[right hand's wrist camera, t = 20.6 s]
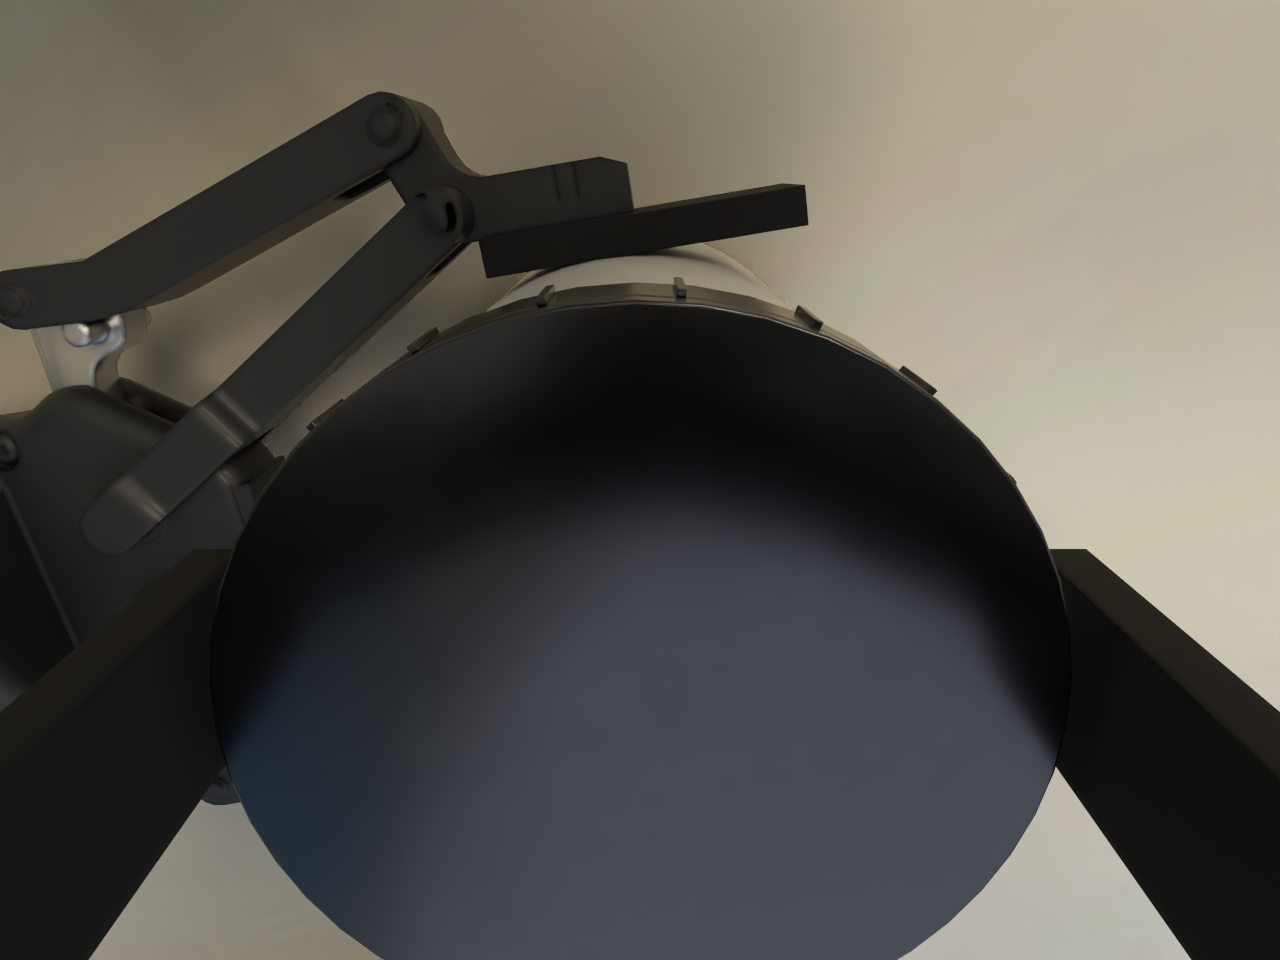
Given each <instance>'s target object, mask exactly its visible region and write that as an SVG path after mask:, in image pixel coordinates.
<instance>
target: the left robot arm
mask: <svg viewBox="0 0 1280 960" xmlns="http://www.w3.org/2000/svg"><path fill="white" fill-rule="evenodd" d="M389 181H391V182H392V183H393V185H394V186H395V188H396V190H397V191H398V193H399V195H400V196H401V198H402V199H403V201H404V203H405V204H406V205H405V206H404V207H403V208H402V209H401V210H400V211H399V212H398V213H397V214H396V215H395V216H394V217H393V218H392V219H391V220H390V221H389V222H388V223H387V224H386V225H385V226H384V227H383V228H382V229H381V230H380V231H378V232H377V233H376V234H375V235H374V236H373V237H372V238H371V239H370V240H369V241H368V242H367V243H366V244H365V245H364V246H363V247H362V248H361V249H360V250H359V251H358V252H357V253H356V254H355V255H354V256H353V257H352V258H351V259H350V260H349V261H348V262H347V263H346V264H345V265H344V266H343V267H342V268H341V269H339V270H338V271H337V272H336V273H335V274H334V275H333V276H332V277H331V278H330V279H329V280H328V281H327V282H326V283H325V284H324V285H323V286H322V287H321V288H320V289H319V290H318V291H317V292H316V293H315V294H314V295H313V296H312V297H311V298H310V299H309V300H308V301H307V302H306V303H305V304H304V305H303V306H302V307H300V308H299V309H298V310H297V311H296V312H295V313H294V314H293V315H292V316H291V317H290V318H289V319H288V320H287V321H286V322H285V323H284V324H283V325H282V326H281V327H280V328H279V329H278V330H277V331H276V332H275V333H274V334H273V335H272V336H271V337H270V338H269V339H268V340H267V341H266V342H265V343H264V344H263V345H261V346H260V347H259V348H258V349H257V350H256V351H255V352H254V353H253V354H252V355H251V356H250V357H249V358H248V359H247V360H246V361H245V362H244V363H243V364H242V365H241V366H240V367H239V368H238V369H237V370H236V371H235V372H234V373H233V374H232V375H231V376H230V377H229V378H228V379H227V380H226V381H225V382H224V383H223V384H221V385H220V386H219V387H218V388H217V389H216V390H215V391H213V392H212V393H211V394H209V395H208V396H207V397H205V398H204V399H203V400H201V401H200V402H199V403H198V404H196V405H195V406H194V407H193V408H192V407H190V406H188V405H185V404H183V403H181V402H179V401H176V400H174V399H172V398H170V397H167V396H165V395H163V394H161V393H158V392H156V391H154V390H152V389H149V388H147V387H145V386H143V385H141V384H138V383H136V382H134V381H131V380H129V379H126V378H122V377H119V375H118V370H117V364H118V359H119V357H120V355H121V354H122V353H123V352H124V351H125V350H126V349H127V348H130V347H132V346H134V345H136V344H139V343H140V342H141V341H142V340H143V339H144V338H145V335H146V333H147V328H148V325H149V324H150V322H151V314H150V312H149V310H148V309H147V308H146V307H148V306H152V305H156V304H159V303H163V302H166V301H169V300H172V299H176V298H179V297H181V296H184V295H186V294H188V293H190V292H192V291H194V290H196V289H198V288H200V287H202V286H204V285H205V284H207V283H209V282H211V281H212V280H214V279H216V278H218V277H220V276H221V275H223V274H225V273H227V272H229V271H230V270H232V269H234V268H236V267H237V266H239V265H241V264H243V263H245V262H246V261H248V260H250V259H252V258H254V257H255V256H257V255H259V254H261V253H262V252H264V251H266V250H268V249H270V248H271V247H273V246H275V245H277V244H278V243H280V242H282V241H284V240H286V239H287V238H289V237H291V236H293V235H295V234H296V233H298V232H300V231H302V230H303V229H305V228H307V227H309V226H311V225H312V224H314V223H316V222H318V221H319V220H321V219H323V218H325V217H327V216H328V215H330V214H332V213H334V212H336V211H337V210H339V209H341V208H343V207H344V206H346V205H348V204H350V203H352V202H353V201H355V200H357V199H359V198H360V197H362V196H364V195H366V194H368V193H369V192H371V191H373V190H375V189H377V188H378V187H380V186H382V185H384V184H385V183H387V182H389ZM805 225H808V215H807V203H806V192H805V185H796V184H777V185H771V186H765V187H759V188H753V189H747V190H742V191H736V192H730V193H724V194H718V195H712V196H706V197H700V198H694V199H688V200H683V201H677V202H671V203H665V204H659V205H653V206H647V207H641V208H635V209H634V204H633V198H632V191H631V185H630V179H629V172H628V166H627V163H624V162H620V161H615V160H611V159H607V158H603V157H596V158H590V159H584V160H578V161H573V162H567V163H561V164H555V165H550V166H544V167H538V168H532V169H526V170H521V171H515V172H509V173H503V174H498V175H492V176H484V175H480V174H478V173H476V172H474V171H472V170H470V169H469V168H468V167H467V166H466V165H464V164H463V162H462V161H461V160H460V158H459V157H458V155H457V154H456V152H455V150H454V149H453V147H452V145H451V143H450V142H449V140H448V138H447V137H446V135H445V133H444V129H443V126H442V123H441V120H440V118H439V116H438V115H437V114H436V112H435V111H434V110H433V109H432V108H430V107H429V106H427V105H425V104H423V103H421V102H418V101H415V100H412V99H408V98H405V97H402V96H399V95H396V94H393V93H387V92H380V91H379V92H376V93H373V94H369V95H367V96H365V97H364V98H362V99H360V100H358V101H357V102H355V103H353V104H352V105H350V106H348V107H346V108H345V109H343V110H341V111H340V112H338V113H336V114H334V115H333V116H331V117H329V118H328V119H326V120H324V121H322V122H321V123H319V124H317V125H315V126H314V127H312V128H310V129H309V130H307V131H305V132H303V133H302V134H300V135H298V136H297V137H295V138H293V139H291V140H290V141H288V142H286V143H285V144H283V145H281V146H279V147H278V148H276V149H274V150H273V151H271V152H269V153H267V154H266V155H264V156H262V157H261V158H259V159H257V160H255V161H254V162H252V163H250V164H249V165H247V166H245V167H243V168H242V169H240V170H238V171H237V172H235V173H233V174H231V175H230V176H228V177H226V178H225V179H223V180H221V181H219V182H218V183H216V184H214V185H213V186H211V187H209V188H207V189H206V190H204V191H202V192H201V193H199V194H197V195H195V196H194V197H192V198H190V199H189V200H187V201H185V202H183V203H182V204H180V205H178V206H177V207H175V208H173V209H171V210H170V211H168V212H166V213H164V214H163V215H161V216H159V217H158V218H156V219H154V220H152V221H151V222H149V223H147V224H146V225H144V226H142V227H140V228H139V229H137V230H135V231H134V232H132V233H130V234H128V235H127V236H125V237H123V238H122V239H120V240H118V241H116V242H115V243H113V244H111V245H110V246H108V247H106V248H104V249H103V250H101V251H99V252H98V253H96V254H94V255H92V256H91V257H89V258H87V259H79V260H72V261H65V262H59V263H52V264H46V265H39V266H33V267H26V268H20V269H13V270H7V271H2V272H0V322H1V323H2V324H4V325H6V326H8V327H10V328H13V329H21V330H27V329H30V331H31V333H32V336H33V339H34V341H35V344H36V347H37V350H38V352H39V355H40V358H41V360H42V363H43V366H44V368H45V371H46V374H47V377H48V379H49V382H50V385H51V387H52V390H53V393H51V394H49V395H48V396H46V397H45V398H44V399H43V400H42V401H41V402H40V403H39V404H38V405H37V406H36V407H35V408H34V409H33V410H29V411H23V412H17V413H11V414H4V415H0V712H1V711H2V710H3V709H4V708H6V707H7V706H8V705H9V704H10V703H12V702H13V701H14V700H15V699H16V698H18V697H19V696H20V695H21V694H22V693H24V692H25V691H26V690H27V689H28V688H29V687H31V686H32V685H33V684H34V683H35V682H37V681H38V680H39V679H40V678H41V677H43V676H44V675H45V674H46V673H47V672H48V671H50V670H51V669H52V668H53V667H54V666H56V665H57V664H58V663H59V662H60V661H62V660H63V659H64V658H65V657H66V656H67V655H69V654H70V653H71V652H72V651H73V650H75V649H76V648H77V647H78V646H79V645H81V644H82V643H83V642H84V641H85V640H86V639H88V638H89V637H90V636H91V635H92V634H94V633H95V632H96V631H97V630H98V629H100V628H101V627H102V626H103V625H104V624H105V623H107V622H108V621H109V620H110V619H111V618H113V617H114V616H115V615H116V614H117V613H119V612H120V611H121V610H122V609H123V608H125V607H126V606H127V605H128V604H129V603H130V602H132V601H133V600H134V599H135V598H136V597H138V596H139V595H140V594H141V593H142V592H144V591H145V590H146V589H147V588H148V587H149V586H151V585H152V584H153V583H154V582H155V581H157V580H158V579H159V578H160V577H161V576H163V575H164V574H165V573H166V572H167V571H168V570H170V569H171V568H172V567H173V566H174V565H176V564H177V563H178V562H179V561H180V560H182V559H183V558H184V557H185V556H186V555H187V554H189V553H190V552H191V551H192V550H193V549H233V546H234V543H235V540H236V538H237V536H238V534H239V532H240V530H241V528H242V527H243V525H244V523H245V521H246V519H247V517H248V515H249V513H250V511H251V509H252V508H253V506H254V504H255V502H256V500H257V498H258V496H259V494H260V492H261V491H262V490H263V488H264V487H265V486H266V484H267V483H268V482H269V480H270V479H271V478H272V476H273V475H274V474H275V472H276V471H277V470H278V468H279V467H280V466H281V464H282V463H283V462H284V460H285V457H284V456H278V457H274V456H273V454H272V453H271V452H270V451H269V449H268V448H267V447H266V446H265V445H264V444H263V443H262V441H263V440H264V439H265V438H266V437H267V436H268V435H269V434H270V433H271V432H272V431H274V430H275V429H276V428H277V427H278V426H279V425H280V424H281V423H282V422H283V421H284V420H285V419H286V418H287V417H289V416H290V415H291V414H292V413H293V412H294V411H295V410H296V409H297V408H298V407H299V406H300V405H301V403H302V402H303V401H304V400H305V399H306V398H307V397H308V396H309V395H310V394H311V393H312V392H313V391H314V390H315V389H316V388H317V387H318V386H320V385H321V384H322V383H323V382H324V381H325V380H326V379H327V378H328V377H329V376H330V375H331V374H332V373H333V372H334V371H336V370H337V369H338V368H339V367H340V366H341V365H342V364H343V363H344V362H345V361H346V360H347V359H348V358H349V357H350V356H352V355H353V354H354V353H355V352H356V351H357V350H358V349H359V348H360V347H361V346H362V345H363V344H364V343H365V342H367V341H368V340H369V339H370V338H371V337H372V336H373V335H374V334H375V333H376V332H377V331H378V330H379V329H380V328H381V327H383V326H384V325H385V324H386V323H387V322H388V321H389V320H390V319H391V318H392V317H393V316H394V315H395V314H396V313H398V312H399V311H400V310H401V309H402V308H403V307H404V306H405V305H406V304H407V303H408V302H409V301H410V300H411V299H412V298H414V297H415V296H416V295H417V294H418V293H419V292H420V291H421V290H422V289H423V288H424V287H425V286H426V285H427V284H428V283H430V282H431V281H432V280H433V279H434V278H435V277H436V276H437V275H438V274H439V273H440V272H441V271H442V270H443V269H445V268H446V267H447V266H448V265H449V264H450V263H451V262H452V261H453V260H454V259H455V258H456V257H457V256H458V255H459V254H461V253H462V252H463V251H464V250H465V249H466V248H467V247H468V246H469V245H470V244H471V243H472V242H476V241H479V245H480V250H481V254H482V259H483V263H484V268H485V272H486V277H487V278H492V277H498V276H504V275H510V274H516V273H522V272H528V271H534V270H541V269H547V268H553V267H559V266H565V265H571V264H577V263H583V262H589V261H594V260H600V259H607V258H613V257H619V256H625V255H631V254H637V253H643V252H649V251H655V250H661V249H667V248H673V247H679V246H685V245H691V244H697V243H703V242H709V241H715V240H721V239H727V238H733V237H739V236H745V235H751V234H757V233H763V232H769V231H775V230H781V229H787V228H793V227H799V226H805ZM202 800H203V801H205V802H207V803H210V804H213V805H227V804H232V803H238V802H241V801H240V799H239V797H238V795H237V793H236V790H235V788H234V786H233V784H232V782H231V779H230V776H229V773H228V770H227V766H226V764H225V766H224V767H223V769H222V770H221V772H220V773H219V774H218V776H217V777H216V779H215V780H214V781H213V783H212V784H211V786H210V787H209V789H208V790H207V791H206V793H205V794H204V796H203V797H202Z"/></svg>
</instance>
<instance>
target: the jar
mask: <svg viewBox="0 0 1280 960" xmlns="http://www.w3.org/2000/svg"><path fill="white" fill-rule="evenodd" d="M674 277H682V278H683V281H684V283H685V285H694V286H699V287H704V288H710V289H715V290H720V291H725V292H731V293H736V294H741V295H746V296H751V297H754V298H757V299H760V300H763V301H766V302H769V303H772V304H775V305H778V306H781V307H784V308H787V309H790V310H793V311H795V310H794V309H792V308H791V307H790V306H789V305H788V304H787V303H786V302H785V301H783V300H782V299H781V298H780V297H779V296H778V295H777V294H776V293H774V292H773V291H772V290H771V289H770V288H769V287H768V286H767V285H765V284H764V283H763V282H762V281H761V280H760V279H759V278H757V277H756V276H755V275H754V274H753V273H752V272H750V271H749V270H748V269H747V268H746V267H745V266H743V265H742V264H740V263H739V262H737V261H736V260H734V259H733V258H731V257H729V256H728V255H726V254H725V253H723V252H721V251H719V250H717V249H715V248H712V247H710V246H708V245H706V244H704V243H697V244H691V245H685V246H679V247H673V248H667V249H661V250H655V251H649V252H643V253H637V254H631V255H625V256H619V257H613V258H607V259H600V260H594V261H589V262H583V263H577V264H571V265H565V266H559V267H553V268H547V269H541V270H534V271H530V272H529V273H528V274H527V275H525V276H524V277H523V278H522V279H521V280H520V281H519V282H518V283H516V284H515V285H514V286H513V287H512V288H511V289H510V290H509V291H507V292H506V293H505V294H504V295H503V296H502V297H501V298H499V299H498V300H497V301H496V302H495V303H494V304H493V305H492V306H490V307H489V308H488V309H487V310H486V311H485V312H487V311H490V310H492V309H495V308H498V307H501V306H503V305H506V304H509V303H512V302H514V301H517V300H520V299H524V298H528V297H533V296H538V295H539V294H540V292H541V291H542V290H543V289H544V288H545V286H548V285H554V287H555V292H556V291H561V290H565V289H570V288H574V287H582V286H595V285H607V284H620V283H632V282H639V283H658V284H673V280H674Z"/></svg>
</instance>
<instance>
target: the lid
mask: <svg viewBox="0 0 1280 960" xmlns="http://www.w3.org/2000/svg"><path fill="white" fill-rule="evenodd" d="M407 349H408V351H409V352H408V353H406V354H405V355H404V356H402V357H401V358H400V359H398V360H397V361H396V362H394V363H393V364H391V365H390V366H389V367H387V368H386V369H385V370H383V371H382V372H380V373H379V374H378V375H376V376H375V377H374V378H372V379H371V380H370V381H368V382H367V383H366V384H365V385H363V386H362V387H361V388H359V389H358V390H357V391H355V392H354V393H353V394H351V395H350V396H349V397H348V398H346V399H345V400H343V399H341V400H340V401H338V402H337V403H336V404H334V405H333V406H332V407H331V408H329V409H328V410H327V411H325V412H324V413H323V414H321V415H320V416H319V417H317V418H316V419H315V420H313V421H312V422H311V423H310V424H309V425H308V426H307V429H308V430H309V431H310V432H309V433H308V434H307V435H306V436H305V437H304V438H303V439H302V440H301V441H300V442H299V443H298V444H297V445H296V446H295V447H294V448H293V450H292V451H291V452H290V454H289V455H288V456H287V458H286V459H285V460H284V462H283V463H282V464H281V466H280V467H279V468H278V470H277V471H276V472H275V474H274V475H273V476H272V478H271V479H270V480H269V482H268V483H267V484H266V486H265V487H264V488H263V490H262V491H261V492H260V494H259V496H258V498H257V500H256V502H255V504H254V506H253V508H252V509H251V511H250V513H249V515H248V517H247V519H246V521H245V523H244V525H243V527H242V528H241V530H240V532H239V534H238V536H237V538H236V540H235V543H234V546H233V549H232V552H231V554H230V557H229V560H228V563H227V566H226V569H225V572H224V575H223V578H222V581H221V584H220V587H219V591H218V597H217V603H216V609H215V615H214V621H213V627H212V633H211V639H210V692H211V698H212V705H213V712H214V718H215V725H216V732H217V737H218V740H219V744H220V747H221V750H222V753H223V757H224V760H225V763H226V766H227V770H228V773H229V776H230V779H231V782H232V784H233V786H234V788H235V790H236V793H237V795H238V797H239V799H240V801H241V803H242V805H243V807H244V809H245V812H246V814H247V816H248V818H249V820H250V822H251V824H252V825H253V827H254V829H255V830H256V832H257V833H258V835H259V836H260V838H261V839H262V841H263V842H264V844H265V845H266V847H267V849H268V850H269V852H270V853H271V855H272V856H273V858H274V859H275V861H276V862H277V863H278V865H279V866H280V867H281V868H282V869H283V870H284V872H285V873H286V874H287V875H288V876H289V878H290V879H291V880H292V881H293V882H294V883H295V885H296V886H297V887H298V888H299V889H300V890H301V892H302V893H303V894H304V895H305V896H306V897H307V898H308V899H309V900H310V901H311V902H312V903H313V904H314V905H315V906H316V907H317V908H319V909H320V910H321V911H322V912H323V913H324V914H325V915H326V916H327V917H328V918H329V919H330V920H331V921H333V922H334V923H335V924H336V925H337V926H338V927H339V928H340V929H342V930H343V931H344V932H346V933H347V934H348V935H350V936H351V937H352V938H354V939H355V940H357V941H358V942H359V943H361V944H362V945H363V946H365V947H366V948H367V949H369V950H370V951H372V952H373V953H374V954H376V955H377V956H379V957H380V958H382V959H384V960H897V959H899V958H901V957H902V956H904V955H906V954H907V953H909V952H911V951H912V950H913V949H915V948H916V947H917V946H919V945H920V944H921V943H922V942H924V941H925V940H926V939H928V938H929V937H930V936H932V935H933V934H934V933H936V932H937V931H938V930H939V929H941V928H942V927H943V926H945V925H946V924H947V923H949V922H950V921H951V920H952V919H953V918H954V917H955V916H956V915H957V914H958V913H959V912H960V911H961V910H962V909H963V908H964V907H965V906H966V905H967V904H968V903H969V902H970V901H971V900H972V899H973V898H974V897H975V896H976V895H978V894H979V893H980V892H981V891H982V889H983V888H984V887H985V886H986V884H987V883H988V882H989V881H990V880H991V878H992V877H993V876H994V875H995V873H996V872H997V871H998V870H999V868H1000V867H1001V866H1002V865H1003V863H1004V862H1005V861H1006V860H1007V859H1008V857H1009V856H1010V855H1011V853H1012V852H1013V850H1014V848H1015V847H1016V845H1017V844H1018V842H1019V840H1020V839H1021V837H1022V835H1023V834H1024V832H1025V831H1026V829H1027V827H1028V826H1029V824H1030V822H1031V821H1032V819H1033V818H1034V816H1035V814H1036V812H1037V809H1038V807H1039V805H1040V803H1041V800H1042V798H1043V796H1044V794H1045V791H1046V789H1047V787H1048V784H1049V782H1050V780H1051V778H1052V775H1053V773H1054V770H1055V766H1056V763H1057V759H1058V756H1059V752H1060V748H1061V745H1062V741H1063V737H1064V734H1065V730H1066V726H1067V718H1068V710H1069V701H1070V693H1071V685H1072V662H1071V635H1070V626H1069V621H1068V616H1067V611H1066V606H1065V601H1064V595H1063V590H1062V585H1061V580H1060V577H1059V575H1058V572H1057V569H1056V567H1055V564H1054V561H1053V559H1052V556H1051V553H1050V550H1049V548H1048V545H1047V542H1046V540H1045V537H1044V534H1043V532H1042V530H1041V528H1040V526H1039V524H1038V523H1037V521H1036V519H1035V517H1034V515H1033V514H1032V512H1031V510H1030V508H1029V507H1028V505H1027V503H1026V501H1025V500H1024V498H1023V496H1022V494H1021V492H1020V491H1019V489H1018V487H1017V485H1016V484H1017V483H1016V481H1015V480H1014V478H1013V477H1012V476H1011V475H1010V474H1008V473H1007V472H1006V471H1005V470H1004V469H1003V467H1002V466H1001V465H1000V463H999V462H998V461H997V460H996V458H995V457H994V456H993V455H992V453H991V452H990V451H989V450H988V448H987V447H986V446H985V445H984V443H983V442H982V441H981V440H980V439H979V438H978V437H977V436H976V435H975V434H974V433H973V432H972V431H971V430H970V429H969V428H968V427H967V426H965V425H964V424H963V423H962V422H961V421H960V420H959V419H958V418H957V417H956V416H955V415H954V414H953V413H951V412H950V411H949V410H948V409H947V408H946V407H945V406H944V405H943V404H942V403H941V402H940V401H939V400H937V399H936V398H935V397H934V396H933V395H934V394H935V393H936V392H937V390H936V389H935V388H934V387H932V386H931V385H930V384H928V383H927V382H926V381H924V380H923V379H922V378H920V377H919V376H917V375H916V374H915V373H913V372H912V371H911V370H909V369H908V368H906V367H905V366H902V368H901V369H900V370H898V369H897V368H895V367H894V366H892V365H891V364H889V363H888V362H886V361H885V360H884V359H882V358H881V357H879V356H878V355H876V354H875V353H873V352H872V351H870V350H869V349H868V348H866V347H865V346H863V345H862V344H860V343H859V342H857V341H856V340H854V339H853V338H851V337H849V336H847V335H845V334H843V333H841V332H839V331H837V330H835V329H833V328H831V327H829V326H827V325H825V324H823V322H822V321H821V320H820V319H819V318H818V317H816V316H815V315H814V314H813V313H811V312H810V311H809V310H808V309H806V308H805V307H803V306H800V305H798V306H797V309H796V311H793V310H790V309H787V308H784V307H781V306H778V305H775V304H772V303H769V302H766V301H763V300H760V299H757V298H754V297H751V296H746V295H741V294H736V293H731V292H725V291H720V290H715V289H710V288H704V287H699V286H694V285H685V283H684V281H683V278H682V277H674V280H673V284H658V283H639V282H632V283H620V284H607V285H595V286H582V287H574V288H570V289H565V290H561V291H556V292H555V287H554V285H548V286H545V288H544V289H543V290H542V291H541V292H540V294H539V295H538V296H533V297H528V298H524V299H520V300H517V301H514V302H512V303H509V304H506V305H503V306H501V307H498V308H495V309H492V310H490V311H487V312H484V313H482V314H479V315H476V316H473V317H471V318H468V319H466V320H464V321H462V322H460V323H458V324H456V325H455V326H453V327H451V328H449V329H447V330H445V331H443V332H441V333H440V334H439V331H438V329H437V328H436V327H435V328H433V329H431V330H429V331H428V332H427V333H425V334H424V335H423V336H421V337H420V338H418V339H417V340H416V341H414V342H413V343H412V344H410V345H409V346H408V347H407Z"/></svg>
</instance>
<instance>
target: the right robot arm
mask: <svg viewBox="0 0 1280 960" xmlns="http://www.w3.org/2000/svg"><path fill="white" fill-rule="evenodd" d="M1049 550H1050V553H1051V556H1052V559H1053V561H1054V564H1055V567H1056V569H1057V572H1058V575H1059V577H1060V580H1061V585H1062V590H1063V595H1064V601H1065V606H1066V611H1067V616H1068V621H1069V626H1070V635H1071V662H1072V685H1071V693H1070V701H1069V710H1068V718H1067V726H1066V730H1065V734H1064V737H1063V741H1062V745H1061V748H1060V752H1059V756H1058V759H1057V763H1056V767H1057V769H1058V770H1059V772H1060V773H1061V774H1062V776H1063V777H1064V779H1065V780H1066V781H1067V783H1068V784H1069V786H1070V787H1071V789H1072V790H1073V791H1074V793H1075V794H1076V796H1077V797H1078V799H1079V800H1080V801H1081V803H1082V804H1083V806H1084V807H1085V809H1086V810H1087V811H1088V813H1089V814H1090V816H1091V817H1092V819H1093V820H1094V821H1095V823H1096V824H1097V826H1098V827H1099V829H1100V830H1101V831H1102V833H1103V834H1104V836H1105V837H1106V838H1107V840H1108V841H1109V843H1110V844H1111V846H1112V847H1113V848H1114V850H1115V851H1116V853H1117V854H1118V856H1119V857H1120V858H1121V860H1122V861H1123V863H1124V864H1125V866H1126V867H1127V868H1128V870H1129V871H1130V873H1131V874H1132V876H1133V877H1134V878H1135V880H1136V881H1137V883H1138V884H1139V886H1140V887H1141V888H1142V890H1143V891H1144V893H1145V894H1146V895H1147V897H1148V898H1149V900H1150V901H1151V903H1152V904H1153V905H1154V907H1155V908H1156V910H1157V911H1158V913H1159V914H1160V915H1161V917H1162V918H1163V920H1164V921H1165V923H1166V924H1167V925H1168V927H1169V928H1170V930H1171V931H1172V933H1173V934H1174V935H1175V937H1176V938H1177V940H1178V941H1179V943H1180V944H1181V945H1182V947H1183V948H1184V950H1185V951H1186V953H1187V954H1188V955H1189V957H1190V958H1191V960H1280V712H1279V711H1278V710H1277V709H1276V708H1274V707H1273V706H1272V705H1271V704H1270V703H1268V702H1267V701H1266V700H1265V699H1264V698H1262V697H1261V696H1260V695H1259V694H1258V693H1256V692H1255V691H1254V690H1253V689H1252V688H1251V687H1249V686H1248V685H1247V684H1246V683H1245V682H1243V681H1242V680H1241V679H1240V678H1239V677H1237V676H1236V675H1235V674H1234V673H1233V672H1232V671H1230V670H1229V669H1228V668H1227V667H1226V666H1224V665H1223V664H1222V663H1221V662H1220V661H1218V660H1217V659H1216V658H1215V657H1214V656H1213V655H1211V654H1210V653H1209V652H1208V651H1207V650H1205V649H1204V648H1203V647H1202V646H1201V645H1199V644H1198V643H1197V642H1196V641H1195V640H1194V639H1192V638H1191V637H1190V636H1189V635H1188V634H1186V633H1185V632H1184V631H1183V630H1182V629H1180V628H1179V627H1178V626H1177V625H1176V624H1175V623H1173V622H1172V621H1171V620H1170V619H1169V618H1167V617H1166V616H1165V615H1164V614H1163V613H1161V612H1160V611H1159V610H1158V609H1157V608H1155V607H1154V606H1153V605H1152V604H1151V603H1150V602H1148V601H1147V600H1146V599H1145V598H1144V597H1142V596H1141V595H1140V594H1139V593H1138V592H1136V591H1135V590H1134V589H1133V588H1132V587H1131V586H1129V585H1128V584H1127V583H1126V582H1125V581H1123V580H1122V579H1121V578H1120V577H1119V576H1117V575H1116V574H1115V573H1114V572H1113V571H1112V570H1110V569H1109V568H1108V567H1107V566H1106V565H1104V564H1103V563H1102V562H1101V561H1100V560H1098V559H1097V558H1096V557H1095V556H1094V555H1093V554H1091V553H1090V552H1089V551H1088V550H1087V549H1049ZM231 552H232V549H193V550H192V551H191V552H190V553H189V554H187V555H186V556H185V557H184V558H183V559H182V560H180V561H179V562H178V563H177V564H176V565H174V566H173V567H172V568H171V569H170V570H168V571H167V572H166V573H165V574H164V575H163V576H161V577H160V578H159V579H158V580H157V581H155V582H154V583H153V584H152V585H151V586H149V587H148V588H147V589H146V590H145V591H144V592H142V593H141V594H140V595H139V596H138V597H136V598H135V599H134V600H133V601H132V602H130V603H129V604H128V605H127V606H126V607H125V608H123V609H122V610H121V611H120V612H119V613H117V614H116V615H115V616H114V617H113V618H111V619H110V620H109V621H108V622H107V623H105V624H104V625H103V626H102V627H101V628H100V629H98V630H97V631H96V632H95V633H94V634H92V635H91V636H90V637H89V638H88V639H86V640H85V641H84V642H83V643H82V644H81V645H79V646H78V647H77V648H76V649H75V650H73V651H72V652H71V653H70V654H69V655H67V656H66V657H65V658H64V659H63V660H62V661H60V662H59V663H58V664H57V665H56V666H54V667H53V668H52V669H51V670H50V671H48V672H47V673H46V674H45V675H44V676H43V677H41V678H40V679H39V680H38V681H37V682H35V683H34V684H33V685H32V686H31V687H29V688H28V689H27V690H26V691H25V692H24V693H22V694H21V695H20V696H19V697H18V698H16V699H15V700H14V701H13V702H12V703H10V704H9V705H8V706H7V707H6V708H4V709H3V710H2V711H1V712H0V960H89V958H90V957H91V955H92V954H93V952H94V951H95V950H96V948H97V947H98V945H99V944H100V943H101V941H102V940H103V938H104V937H105V935H106V934H107V933H108V931H109V930H110V928H111V927H112V925H113V924H114V923H115V921H116V920H117V918H118V917H119V915H120V914H121V913H122V911H123V910H124V908H125V907H126V905H127V904H128V903H129V901H130V900H131V898H132V897H133V895H134V894H135V893H136V891H137V890H138V888H139V887H140V886H141V884H142V883H143V881H144V880H145V878H146V877H147V876H148V874H149V873H150V871H151V870H152V868H153V867H154V866H155V864H156V863H157V861H158V860H159V858H160V857H161V856H162V854H163V853H164V851H165V850H166V848H167V847H168V846H169V844H170V843H171V841H172V840H173V838H174V837H175V836H176V834H177V833H178V831H179V830H180V829H181V827H182V826H183V824H184V823H185V821H186V820H187V819H188V817H189V816H190V814H191V813H192V811H193V810H194V809H195V807H196V806H197V804H198V803H199V801H200V800H201V799H202V797H203V796H204V794H205V793H206V791H207V790H208V789H209V787H210V786H211V784H212V783H213V781H214V780H215V779H216V777H217V776H218V774H219V773H220V772H221V770H222V769H223V767H224V766H225V764H226V763H225V760H224V757H223V753H222V750H221V747H220V744H219V740H218V737H217V732H216V725H215V718H214V712H213V705H212V698H211V692H210V639H211V633H212V627H213V621H214V615H215V609H216V603H217V597H218V591H219V587H220V584H221V581H222V578H223V575H224V572H225V569H226V566H227V563H228V560H229V557H230V554H231Z"/></svg>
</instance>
